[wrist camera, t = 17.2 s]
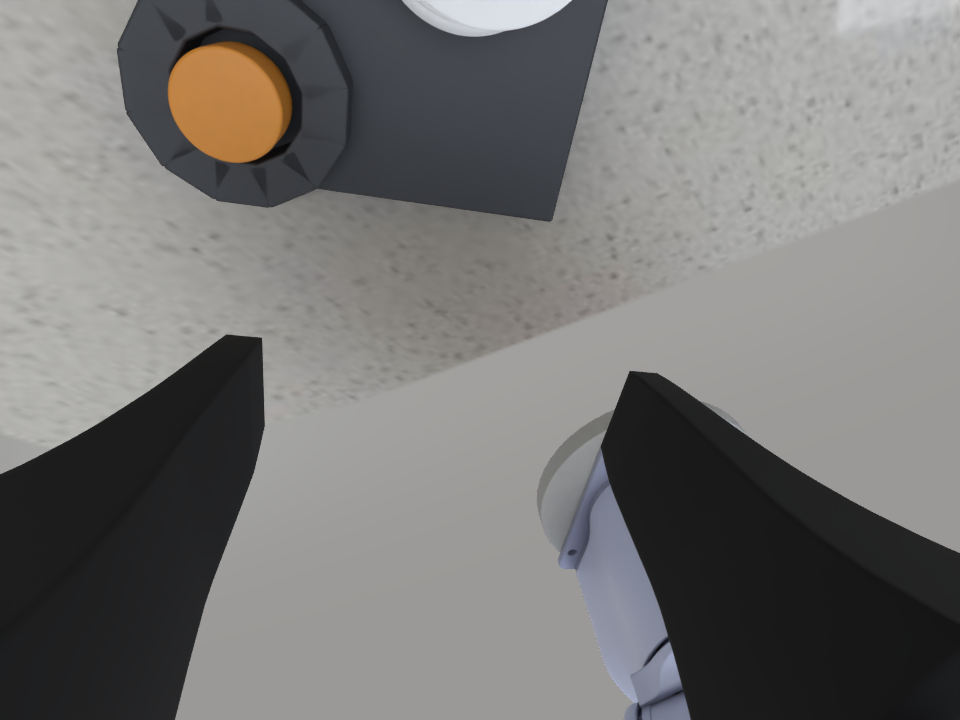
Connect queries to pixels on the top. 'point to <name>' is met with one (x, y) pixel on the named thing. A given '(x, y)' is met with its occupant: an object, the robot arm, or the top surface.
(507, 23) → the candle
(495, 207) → the scale
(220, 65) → the power button
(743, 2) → the top surface
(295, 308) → the top surface
